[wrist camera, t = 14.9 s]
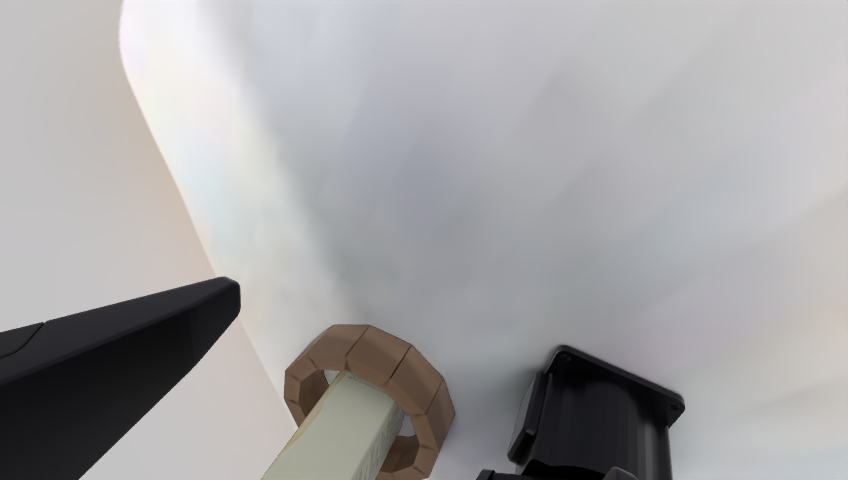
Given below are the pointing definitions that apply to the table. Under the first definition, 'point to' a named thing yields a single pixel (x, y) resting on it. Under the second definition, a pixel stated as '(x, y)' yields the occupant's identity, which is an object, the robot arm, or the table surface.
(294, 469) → the skincare box
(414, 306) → the table surface
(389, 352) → the walnut ring
